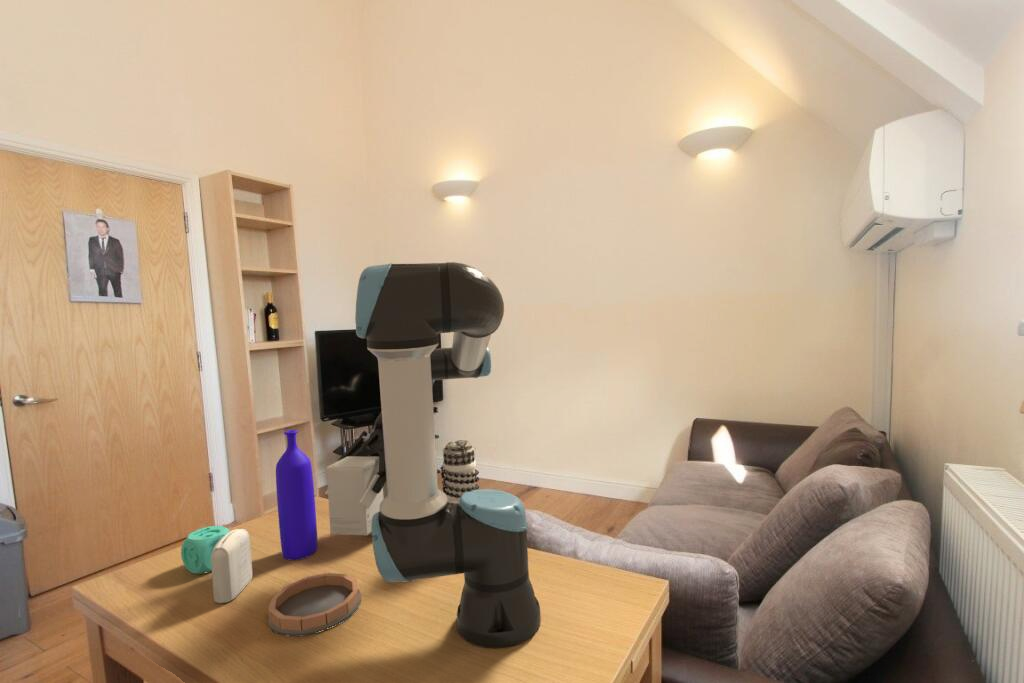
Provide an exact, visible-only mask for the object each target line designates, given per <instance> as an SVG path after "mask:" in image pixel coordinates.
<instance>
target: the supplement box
mask: <svg viewBox="0 0 1024 683" xmlns="http://www.w3.org/2000/svg"><path fill="white" fill-rule="evenodd" d="M379 458H380V456H372V455H370V456H367V457H359V456H348V457H346V458H344V459H342V460H340V461H335V462H334V463H332V464H330V465H328V466H326V480H327V481H326V482H327V489H328V496H327V498H328V499H327V500H328V512H329V513H328V514H329V515H328V516H329V532H330V535H346V536H347V535H348V536H369V535H368V534H369V533H370V532H371V523H372V517H373V515H374V514H375V513H377V512H380V509H379V506H380V503H381V501H382V500H383V487H382V489H381V491H380V492H379V494H377V496H376V497H375V499H374V501H373V503H372V505H371V506H370V508H369V509H368V508H366V507H364V506H363V505H362V504H360V503H359V501H360V500H361V498H362V496H363V494H364V493H365V491H366V489H367V487H368V486H369V484H370V482H371V481H372V479H373V477H374V475H377V476H379V475H378V474H377V473H378V472H379ZM376 472H377V473H376Z"/></svg>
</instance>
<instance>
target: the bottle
mask: <svg viewBox="0 0 1024 683" xmlns="http://www.w3.org/2000/svg"><path fill="white" fill-rule="evenodd" d="M297 433H299V430H297V429H290V430H286V431H284V433H283V434H284V435H285V436H286V439H287V440H286V442H287V445H286V449H285V450H284V452H283V454H282V455H281V456H280V458H279V459H278V461H277V463H276V464H275V486H276V487H275V488H276V502H277V503H276V504H277V514H278V527H279V528H278V529H279V537H280V547H281V553H282V556H283V558H284V559H285V558H286V560H288V559H290V560H289V561H296V559H298V560H302V559H301V558H303V559H306V558H308V557H310V556H312V555H314V554H315V553H316V552H315V551H317V549H318V529H317V513H316V500H315V499H316V498H315V488H314V476H313V467H312V461H311V459H310V458H309V457H308V455H307V454H306V453H305V452H303V451H302V449H300V448H299V447H298V445H297ZM314 552H315V553H314ZM313 553H314V554H313ZM311 554H312V555H311ZM307 556H308V557H307ZM305 557H306V558H305Z"/></svg>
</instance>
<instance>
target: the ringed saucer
mask: <svg viewBox="0 0 1024 683" xmlns="http://www.w3.org/2000/svg"><path fill="white" fill-rule="evenodd" d="M360 603H362V593H361V590H360V589H359V582H358V580H357V579H356V578H354V577H352V576H350V575H348V574H347V573H337V572H336V573H331V572H328V573H326V572H325V573H321V574H316V575H311V576H307V577H303V578H301V579H299V580H297V581H294V582H292V583H290V584H288V585H286V586H284V587H283V588H281V590H279V591H277V593H275V595H274V596H272V597H271V598H270V603H269V607H268V614H267V625H268V624H269V625H268V627H269V626H270V627H269V629H270V628H271V629H272V630H274V631H275V632H277V633H276V634H278V633H279V634H278V635H281V634H282V635H281V636H285V635H289V636H288V637H301V636H300V635H305V636H310V634H311V635H314V633H315V634H317V633H316V632H319V631H322V630H325V631H327V630H326V629H327V628H330V627H332V626H335V625H337V624H339V623H341V622H342V623H344V622H346V621H347V620H348V619H349V617H350V616H351V615H352V614H353V613H354V612H355V611H356V610H357V611H358V609H359V608H360V606H361V604H360ZM359 605H360V606H359ZM358 607H359V608H358ZM357 611H356V612H357ZM356 612H355V613H356ZM355 613H354V614H355ZM354 614H353V615H354ZM353 615H352V616H353ZM352 616H351V617H352ZM351 617H350V618H351ZM346 619H347V620H346ZM345 620H346V621H345ZM343 621H344V622H343ZM342 623H341V624H342ZM339 625H340V624H339ZM337 626H338V625H337ZM335 627H336V626H335ZM271 629H270V630H271ZM330 629H331V628H330ZM272 630H271V631H272ZM274 631H273V632H274ZM275 632H274V633H275ZM322 632H323V631H322ZM319 633H320V632H319Z"/></svg>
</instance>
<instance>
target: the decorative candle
mask: <svg viewBox="0 0 1024 683" xmlns="http://www.w3.org/2000/svg"><path fill="white" fill-rule="evenodd" d="M476 449H477V448H476V447H475V446H474V445H473V444H472V443H471V442H470V441H468V440H453V441H450V442H448V443H447V444H446V446H445V447H444V448H443V449H442V455H443V458H442V459H443V462H442V465H441V467H440V471H441V473H440V475H441V479H442V481H441V484H442V492H444V493H445V494H446V496H447V499H448V505H452V504H459V500H460V498H461V496H462V495H463V494H464V493H466V492H471V491H472V490H477V489H480V486H479V484H478V481H479V480H480V478H479V477H478V475H480V474H479V473H480V471H479V470H477V469H476V466H477V460H476V458H475V456H476V455H475V450H476ZM476 483H477V484H476Z"/></svg>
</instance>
